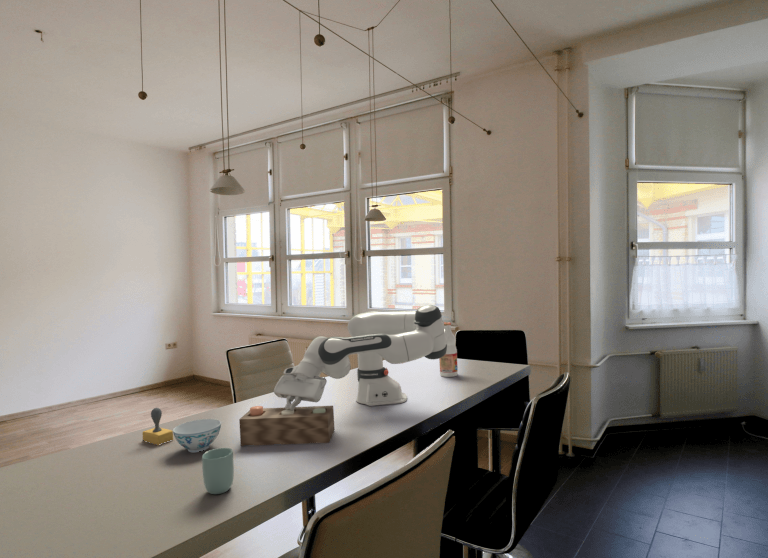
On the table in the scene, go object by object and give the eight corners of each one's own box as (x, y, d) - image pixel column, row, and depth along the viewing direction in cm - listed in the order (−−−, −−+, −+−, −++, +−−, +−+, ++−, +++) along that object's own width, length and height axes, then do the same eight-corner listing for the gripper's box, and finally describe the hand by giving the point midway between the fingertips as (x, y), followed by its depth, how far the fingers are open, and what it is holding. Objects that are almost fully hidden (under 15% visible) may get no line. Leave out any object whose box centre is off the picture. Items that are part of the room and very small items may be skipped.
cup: (208, 485, 124) (206, 449, 124) (238, 482, 125) (236, 446, 124) (199, 499, 116) (197, 460, 116) (230, 496, 117) (228, 457, 117)
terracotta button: (265, 415, 160) (264, 405, 160) (261, 419, 156) (260, 409, 156) (252, 415, 161) (252, 406, 161) (248, 419, 156) (248, 409, 156)
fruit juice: (437, 374, 245) (435, 322, 244) (454, 372, 246) (451, 321, 246) (443, 378, 235) (440, 324, 235) (460, 376, 237) (457, 323, 237)
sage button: (326, 417, 159) (326, 407, 159) (324, 421, 155) (324, 411, 155) (314, 417, 160) (314, 408, 160) (312, 421, 155) (311, 412, 155)
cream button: (296, 418, 160) (295, 409, 160) (293, 422, 156) (292, 412, 156) (283, 419, 160) (283, 409, 160) (280, 423, 156) (279, 413, 156)
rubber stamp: (142, 441, 162) (140, 408, 162) (157, 436, 167) (156, 404, 167) (158, 446, 157) (156, 411, 157) (173, 440, 162) (171, 407, 162)
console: (334, 430, 163) (333, 405, 163) (329, 442, 151) (327, 415, 151) (252, 433, 165) (251, 408, 164) (240, 445, 153) (239, 419, 152)
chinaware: (175, 461, 142) (174, 437, 142) (173, 446, 155) (171, 424, 155) (225, 450, 149) (224, 427, 149) (219, 437, 162) (217, 415, 162)
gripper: (332, 382, 162) (316, 417, 154) (290, 378, 173) (273, 410, 165) (324, 372, 158) (306, 408, 150) (281, 368, 169) (263, 401, 161)
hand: (288, 409), depth 158 cm, fingers closed, pressing on cream button
